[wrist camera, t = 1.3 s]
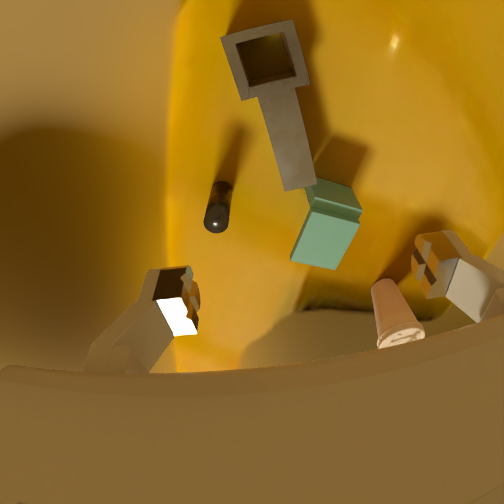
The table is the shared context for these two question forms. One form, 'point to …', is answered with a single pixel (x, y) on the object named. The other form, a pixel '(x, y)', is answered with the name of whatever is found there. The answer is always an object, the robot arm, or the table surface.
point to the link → (278, 101)
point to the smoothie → (393, 315)
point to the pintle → (218, 208)
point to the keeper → (327, 225)
